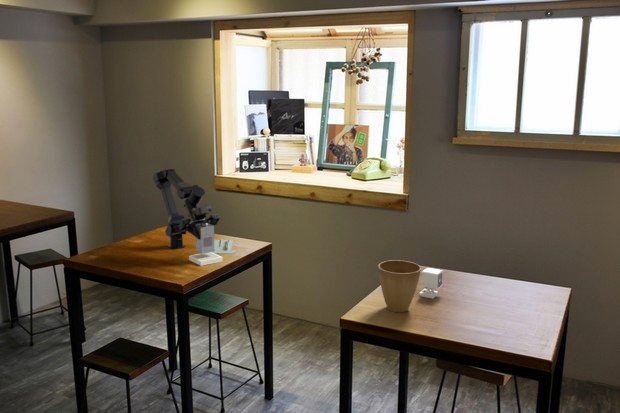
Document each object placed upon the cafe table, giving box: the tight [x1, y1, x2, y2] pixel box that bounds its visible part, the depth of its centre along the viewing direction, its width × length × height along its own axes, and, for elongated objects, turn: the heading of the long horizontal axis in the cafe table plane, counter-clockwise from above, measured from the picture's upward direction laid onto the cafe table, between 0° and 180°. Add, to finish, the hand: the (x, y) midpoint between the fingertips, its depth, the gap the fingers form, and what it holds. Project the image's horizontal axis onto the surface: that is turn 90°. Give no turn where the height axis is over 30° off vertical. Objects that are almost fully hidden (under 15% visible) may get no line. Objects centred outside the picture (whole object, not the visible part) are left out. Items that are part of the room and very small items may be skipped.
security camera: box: [418, 267, 444, 299], centre depth 232 cm, size 6×7×10 cm
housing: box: [195, 223, 215, 254], centre depth 275 cm, size 5×6×13 cm
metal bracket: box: [212, 237, 236, 255], centre depth 294 cm, size 14×6×15 cm
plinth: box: [188, 252, 224, 267], centre depth 277 cm, size 11×11×2 cm
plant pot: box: [377, 259, 422, 313], centre depth 218 cm, size 15×15×16 cm
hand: (206, 237), depth 274 cm, fingers closed on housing, 6 cm apart
